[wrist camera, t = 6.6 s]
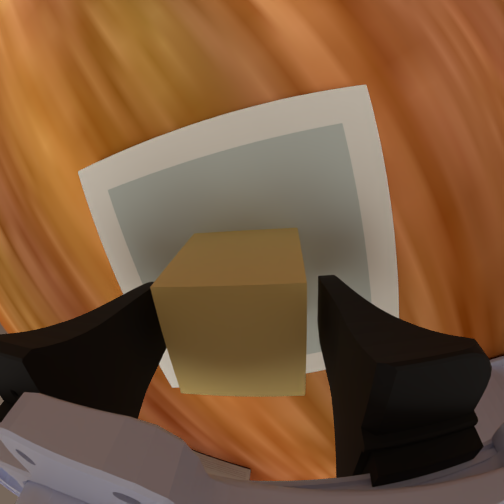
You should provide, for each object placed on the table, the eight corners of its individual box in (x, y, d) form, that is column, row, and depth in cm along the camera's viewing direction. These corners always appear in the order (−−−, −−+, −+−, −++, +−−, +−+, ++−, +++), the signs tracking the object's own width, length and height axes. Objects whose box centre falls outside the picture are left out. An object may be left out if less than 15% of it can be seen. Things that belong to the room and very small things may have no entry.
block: (297, 227, 13) (306, 282, 8) (299, 317, 15) (304, 395, 10) (194, 233, 14) (150, 287, 9) (208, 319, 15) (181, 392, 10)
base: (355, 90, 12) (366, 84, 11) (389, 332, 17) (398, 353, 15) (98, 166, 15) (76, 171, 13) (180, 367, 20) (171, 388, 18)
